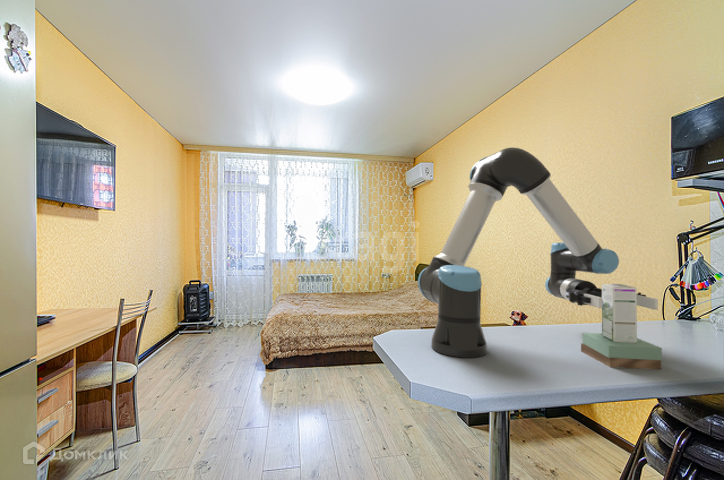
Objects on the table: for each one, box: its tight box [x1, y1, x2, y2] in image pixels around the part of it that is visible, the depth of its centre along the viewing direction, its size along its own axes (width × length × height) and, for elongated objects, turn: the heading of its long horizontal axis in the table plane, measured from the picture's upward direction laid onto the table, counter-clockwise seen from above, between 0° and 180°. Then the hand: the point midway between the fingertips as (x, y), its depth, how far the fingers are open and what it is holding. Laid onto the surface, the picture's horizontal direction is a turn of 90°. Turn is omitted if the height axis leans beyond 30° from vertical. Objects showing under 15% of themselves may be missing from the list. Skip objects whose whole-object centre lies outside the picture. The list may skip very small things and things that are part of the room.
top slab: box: [582, 332, 663, 361], centre depth 88 cm, size 12×12×3 cm
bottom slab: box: [580, 342, 662, 370], centre depth 88 cm, size 12×12×3 cm
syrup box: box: [601, 283, 638, 343], centre depth 88 cm, size 6×6×14 cm
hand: (628, 303), depth 84 cm, fingers open, 13 cm apart
